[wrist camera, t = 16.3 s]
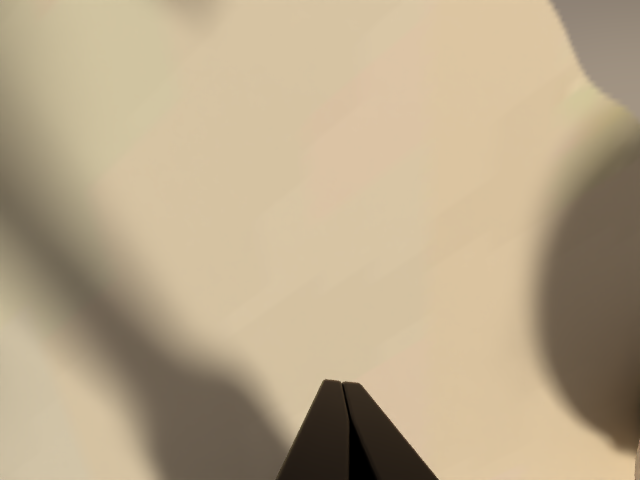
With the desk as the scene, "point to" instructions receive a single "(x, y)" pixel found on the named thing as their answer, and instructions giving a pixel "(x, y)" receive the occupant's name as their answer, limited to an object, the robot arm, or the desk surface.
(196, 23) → the desk surface
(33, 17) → the desk surface
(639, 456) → the satellite
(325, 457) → the robot arm
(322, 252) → the desk surface
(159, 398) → the desk surface
